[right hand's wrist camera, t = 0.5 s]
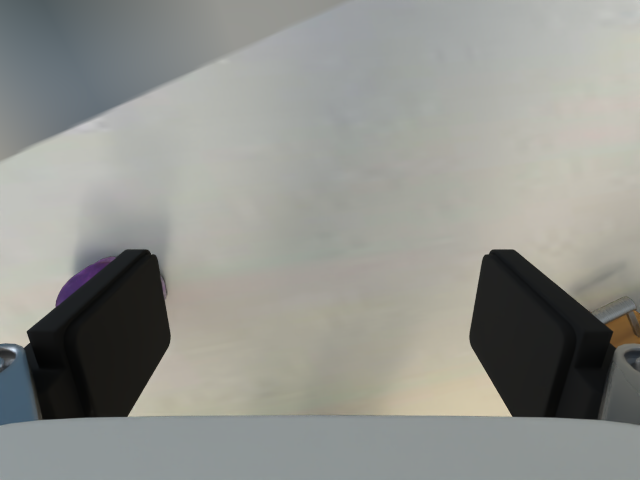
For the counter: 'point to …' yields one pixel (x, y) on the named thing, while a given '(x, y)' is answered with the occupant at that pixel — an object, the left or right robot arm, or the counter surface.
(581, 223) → the counter surface
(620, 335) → the drawer
